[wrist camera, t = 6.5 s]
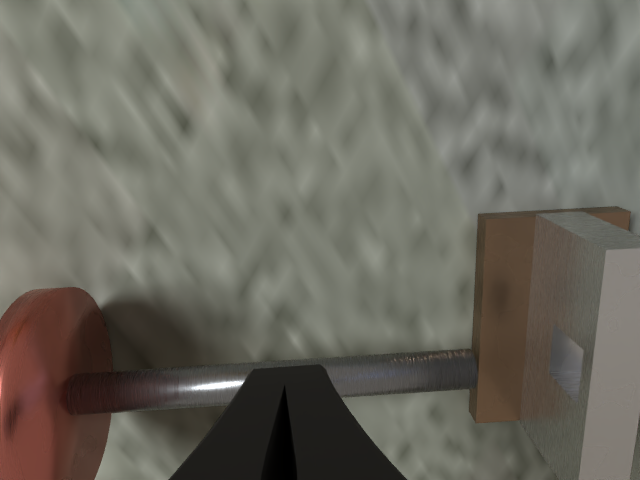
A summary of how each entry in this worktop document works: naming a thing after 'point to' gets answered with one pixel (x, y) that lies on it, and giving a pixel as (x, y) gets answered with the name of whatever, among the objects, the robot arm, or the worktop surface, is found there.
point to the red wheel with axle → (143, 383)
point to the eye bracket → (561, 335)
